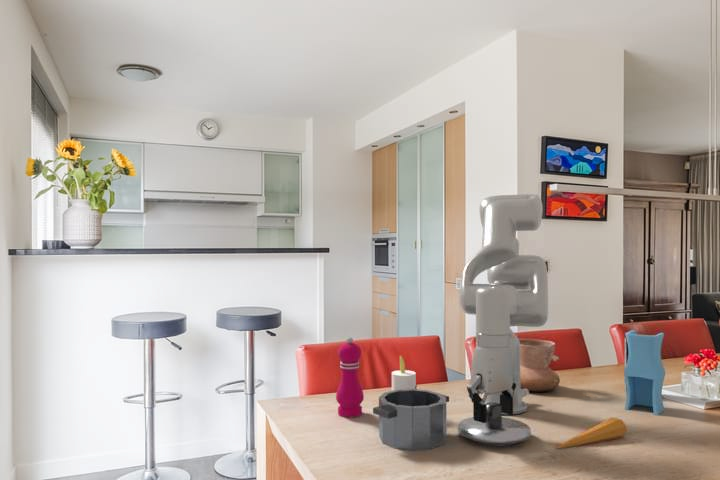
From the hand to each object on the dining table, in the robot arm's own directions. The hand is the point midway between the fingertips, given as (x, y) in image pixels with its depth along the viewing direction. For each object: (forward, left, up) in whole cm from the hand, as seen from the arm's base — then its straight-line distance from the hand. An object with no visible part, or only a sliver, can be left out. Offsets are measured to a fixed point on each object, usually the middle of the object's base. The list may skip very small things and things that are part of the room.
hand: (493, 417), depth 120 cm
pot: (+14, -12, -5) cm, 19 cm away
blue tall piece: (-48, +13, -5) cm, 50 cm away
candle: (+3, -26, -5) cm, 27 cm away
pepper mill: (+14, -35, -5) cm, 38 cm away
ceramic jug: (-44, -18, -5) cm, 48 cm away
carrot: (-14, +15, -5) cm, 21 cm away
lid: (0, 0, -5) cm, 5 cm away
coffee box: (-61, +7, -5) cm, 62 cm away
